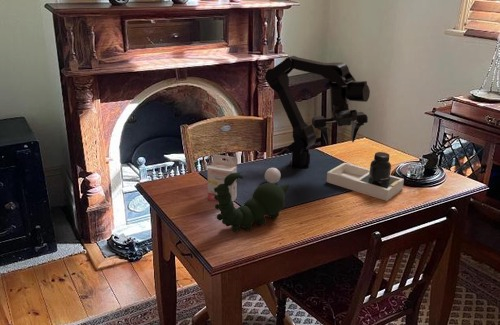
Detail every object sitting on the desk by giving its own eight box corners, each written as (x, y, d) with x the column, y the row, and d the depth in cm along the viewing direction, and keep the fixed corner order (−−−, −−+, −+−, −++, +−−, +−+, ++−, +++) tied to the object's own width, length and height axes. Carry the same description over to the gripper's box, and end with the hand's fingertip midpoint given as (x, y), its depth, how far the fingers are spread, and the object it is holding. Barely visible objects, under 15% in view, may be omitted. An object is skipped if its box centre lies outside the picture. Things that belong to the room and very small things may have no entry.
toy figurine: (231, 247, 139) (300, 214, 152) (225, 186, 131) (298, 157, 144) (212, 233, 146) (280, 203, 159) (206, 174, 138) (277, 147, 151)
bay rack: (326, 182, 176) (327, 171, 175) (343, 171, 185) (344, 161, 183) (387, 201, 162) (388, 189, 161) (402, 189, 171) (404, 178, 169)
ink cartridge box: (207, 200, 162) (206, 158, 156) (213, 194, 166) (212, 153, 161) (231, 204, 159) (231, 162, 154) (237, 198, 164) (237, 156, 158)
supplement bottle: (383, 193, 166) (387, 159, 161) (364, 187, 169) (367, 155, 165) (391, 186, 171) (395, 153, 166) (373, 181, 174) (376, 149, 170)
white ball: (275, 178, 179) (276, 164, 177) (283, 184, 174) (283, 169, 172) (256, 182, 176) (256, 167, 174) (263, 188, 171) (264, 173, 169)
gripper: (317, 107, 165) (319, 152, 170) (372, 102, 165) (372, 146, 170) (310, 101, 175) (312, 143, 180) (362, 95, 176) (363, 138, 181)
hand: (340, 143), depth 178 cm, fingers open, 9 cm apart
